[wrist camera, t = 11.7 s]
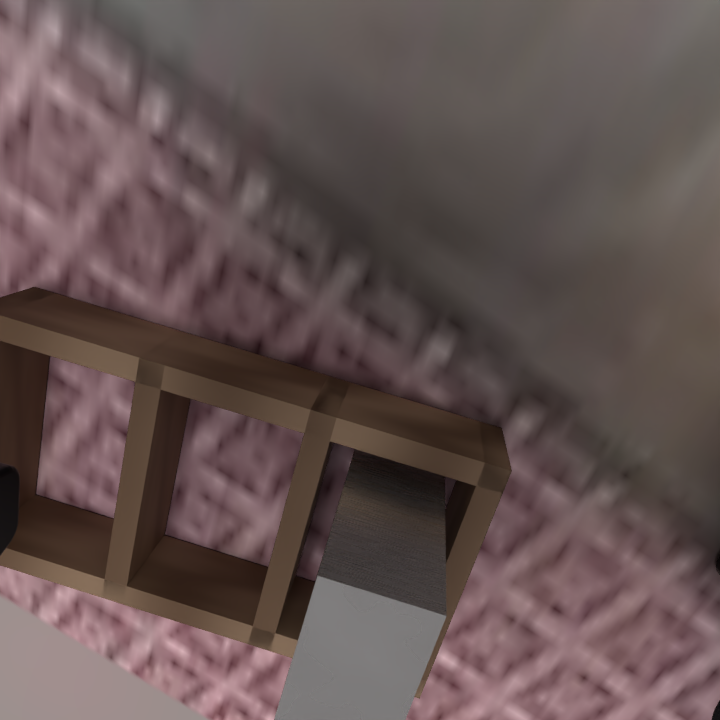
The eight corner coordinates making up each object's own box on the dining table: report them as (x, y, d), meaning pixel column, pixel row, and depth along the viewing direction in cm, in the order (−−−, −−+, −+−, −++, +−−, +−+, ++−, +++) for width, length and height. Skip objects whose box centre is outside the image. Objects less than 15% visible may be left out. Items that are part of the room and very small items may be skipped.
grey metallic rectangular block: (444, 453, 21) (446, 615, 14) (395, 589, 23) (373, 797, 16) (361, 428, 21) (317, 575, 14) (319, 565, 23) (261, 761, 16)
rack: (501, 428, 20) (511, 470, 18) (418, 641, 24) (416, 707, 21) (34, 286, 21) (-30, 306, 18) (13, 514, 24) (-43, 561, 21)
